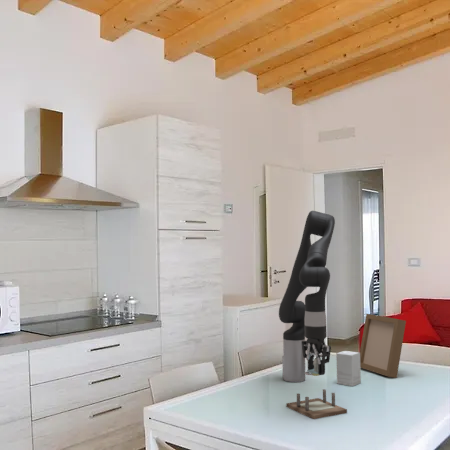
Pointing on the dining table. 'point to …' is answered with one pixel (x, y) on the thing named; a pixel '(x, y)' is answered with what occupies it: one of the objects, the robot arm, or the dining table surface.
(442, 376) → the dining table surface
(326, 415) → the pin tray
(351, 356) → the supplement box
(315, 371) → the pacifier
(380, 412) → the dining table surface
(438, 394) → the dining table surface
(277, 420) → the dining table surface
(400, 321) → the photo frame
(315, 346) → the robot arm
